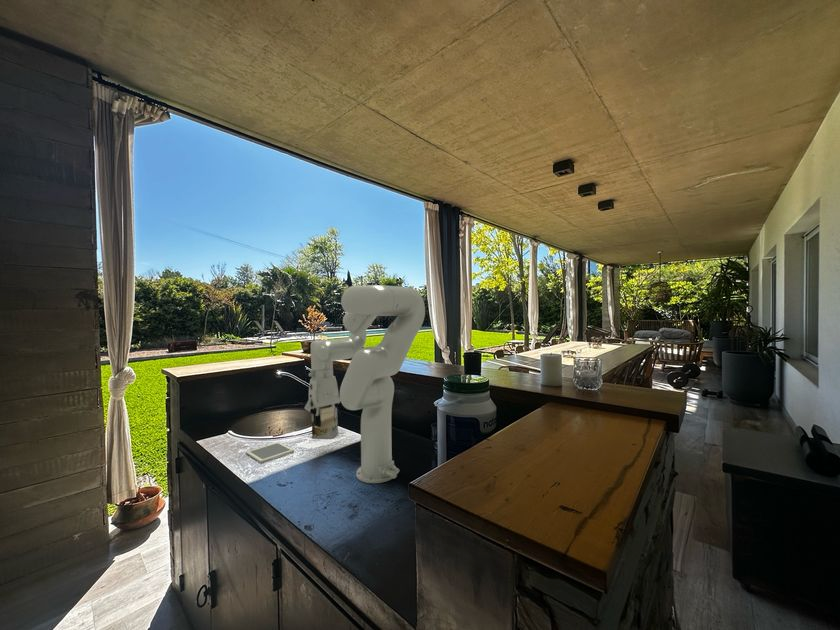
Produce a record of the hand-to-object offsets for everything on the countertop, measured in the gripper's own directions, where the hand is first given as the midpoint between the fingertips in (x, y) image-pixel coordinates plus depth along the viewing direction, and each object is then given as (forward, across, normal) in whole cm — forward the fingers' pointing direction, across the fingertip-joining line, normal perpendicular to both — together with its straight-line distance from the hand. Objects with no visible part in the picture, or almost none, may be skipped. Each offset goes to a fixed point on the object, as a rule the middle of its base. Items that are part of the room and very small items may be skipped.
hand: (324, 423), depth 124 cm
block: (+1, 0, 0) cm, 1 cm away
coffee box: (+10, +10, +15) cm, 21 cm away
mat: (+10, -13, +15) cm, 22 cm away
